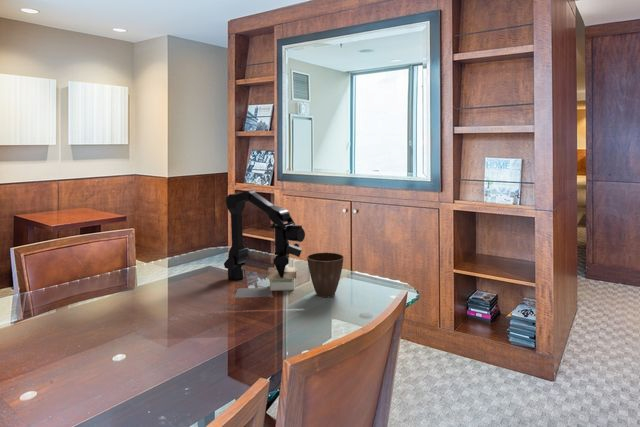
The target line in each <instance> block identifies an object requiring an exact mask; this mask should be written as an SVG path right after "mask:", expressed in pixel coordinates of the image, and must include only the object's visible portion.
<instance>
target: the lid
mask: <svg viewBox="0 0 640 427" xmlns="http://www.w3.org/2000/svg"><path fill="white" fill-rule="evenodd" d="M267 268H268V269H267V280H271V279H294V280H295V279H297V267H296V266H290V267H289V266H287V267H286V266H285V270H284V276H283V278H281V277H280V275H279V273H278V271H277V269H276V267H267Z"/></svg>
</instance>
